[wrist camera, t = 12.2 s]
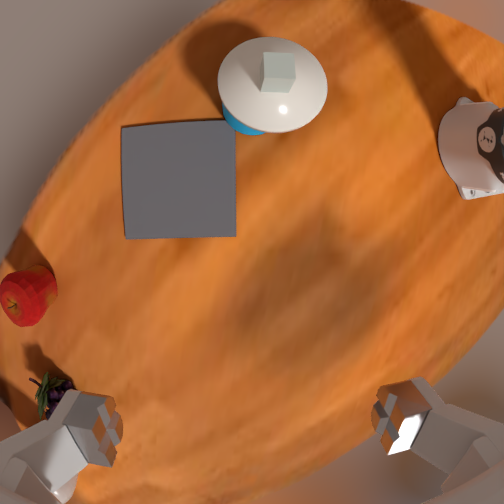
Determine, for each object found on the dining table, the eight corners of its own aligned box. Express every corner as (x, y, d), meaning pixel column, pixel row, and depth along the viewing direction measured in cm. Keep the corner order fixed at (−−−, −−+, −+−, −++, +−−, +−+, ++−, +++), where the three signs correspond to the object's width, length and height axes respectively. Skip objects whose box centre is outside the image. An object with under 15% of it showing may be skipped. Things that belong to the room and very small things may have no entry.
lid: (320, 45, 29) (332, 25, 24) (328, 135, 31) (344, 125, 26) (218, 40, 28) (217, 18, 23) (218, 133, 30) (215, 121, 25)
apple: (21, 271, 41) (-19, 296, 30) (47, 248, 41) (4, 271, 29) (46, 312, 44) (11, 344, 32) (73, 292, 43) (37, 324, 32)
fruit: (85, 403, 53) (29, 370, 46) (105, 391, 50) (42, 352, 43) (77, 442, 44) (15, 408, 37) (97, 434, 41) (25, 396, 34)
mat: (235, 120, 38) (235, 120, 38) (236, 235, 42) (236, 236, 42) (123, 128, 37) (121, 128, 37) (127, 238, 41) (125, 239, 41)
